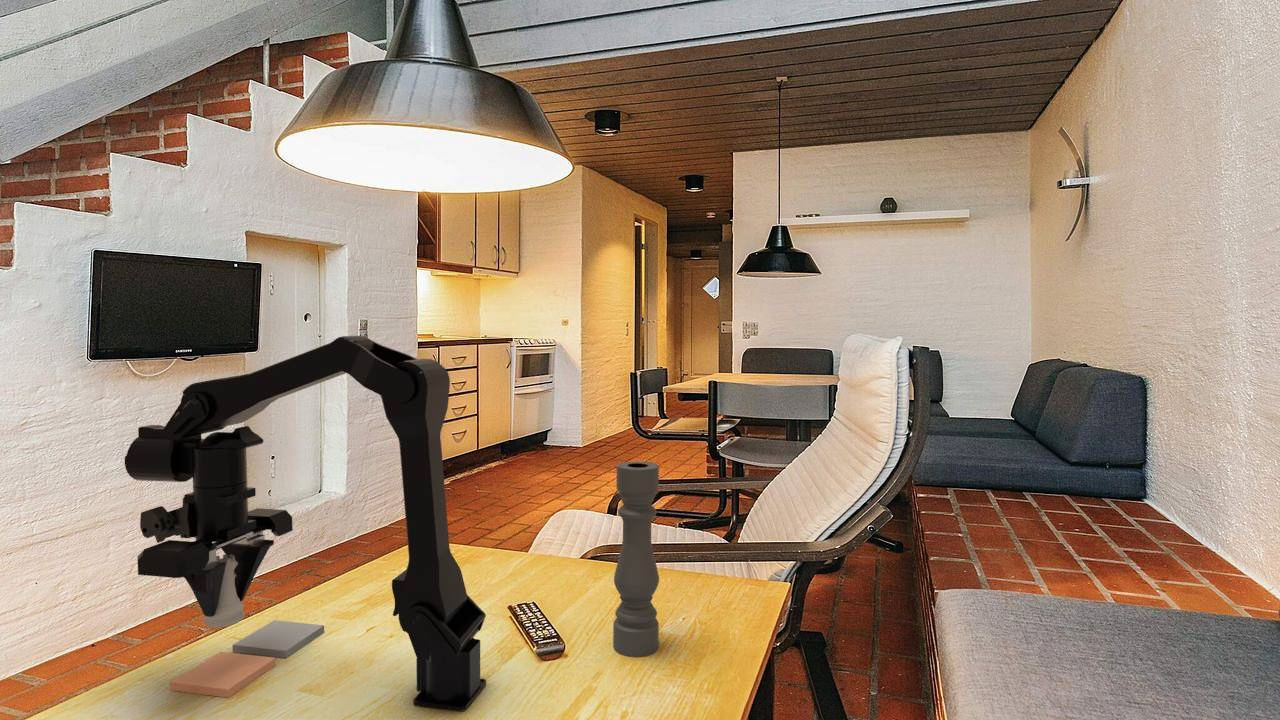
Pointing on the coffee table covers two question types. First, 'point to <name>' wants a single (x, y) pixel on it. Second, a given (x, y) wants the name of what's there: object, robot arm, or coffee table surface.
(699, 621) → the coffee table surface
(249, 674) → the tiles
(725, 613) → the coffee table surface
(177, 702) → the coffee table surface
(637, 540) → the candle holder
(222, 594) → the rook chess piece
